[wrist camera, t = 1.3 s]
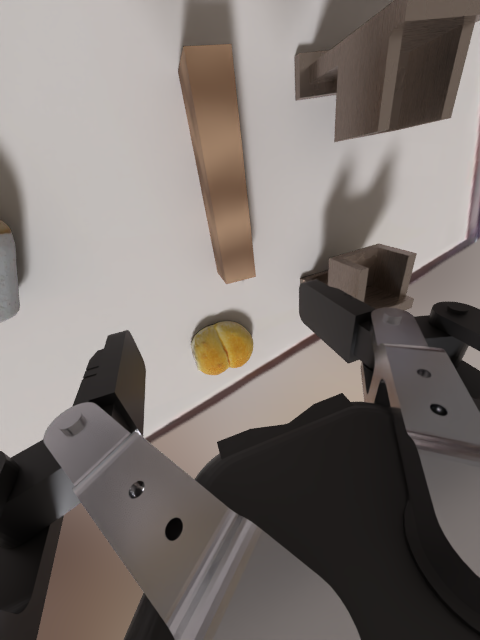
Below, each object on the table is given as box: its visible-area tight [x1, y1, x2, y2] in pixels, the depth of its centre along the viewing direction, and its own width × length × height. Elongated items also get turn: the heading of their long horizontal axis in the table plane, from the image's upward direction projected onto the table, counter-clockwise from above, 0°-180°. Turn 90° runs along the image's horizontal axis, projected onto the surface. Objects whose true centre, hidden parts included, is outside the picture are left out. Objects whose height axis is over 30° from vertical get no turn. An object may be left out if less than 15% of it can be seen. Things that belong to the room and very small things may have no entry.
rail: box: [178, 44, 256, 284], centre depth 23 cm, size 18×4×4 cm, turn 8°
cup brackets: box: [295, 0, 480, 310], centre depth 25 cm, size 25×9×11 cm, turn 10°
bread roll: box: [191, 321, 253, 375], centre depth 33 cm, size 8×9×4 cm
